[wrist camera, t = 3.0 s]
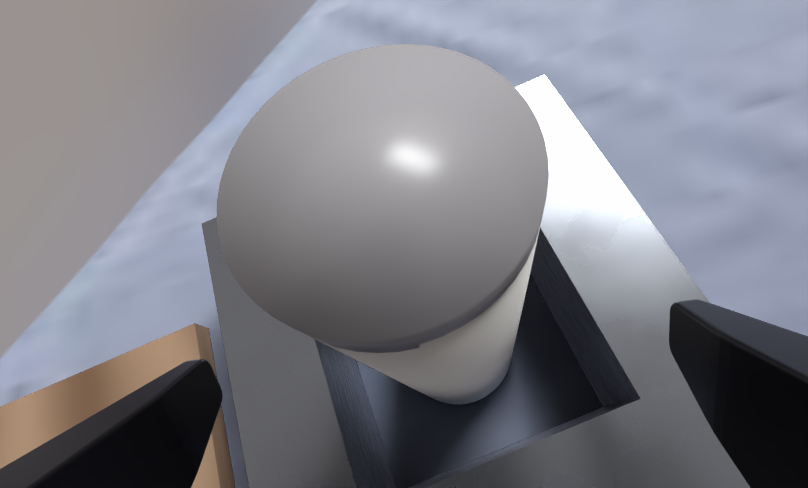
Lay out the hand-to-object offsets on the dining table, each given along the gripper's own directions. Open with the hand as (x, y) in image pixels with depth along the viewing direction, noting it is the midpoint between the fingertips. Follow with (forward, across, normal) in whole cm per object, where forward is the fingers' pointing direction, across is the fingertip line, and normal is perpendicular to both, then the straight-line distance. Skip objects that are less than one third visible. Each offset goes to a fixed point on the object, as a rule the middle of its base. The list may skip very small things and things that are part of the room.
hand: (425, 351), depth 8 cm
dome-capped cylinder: (+8, 0, +5) cm, 9 cm away
